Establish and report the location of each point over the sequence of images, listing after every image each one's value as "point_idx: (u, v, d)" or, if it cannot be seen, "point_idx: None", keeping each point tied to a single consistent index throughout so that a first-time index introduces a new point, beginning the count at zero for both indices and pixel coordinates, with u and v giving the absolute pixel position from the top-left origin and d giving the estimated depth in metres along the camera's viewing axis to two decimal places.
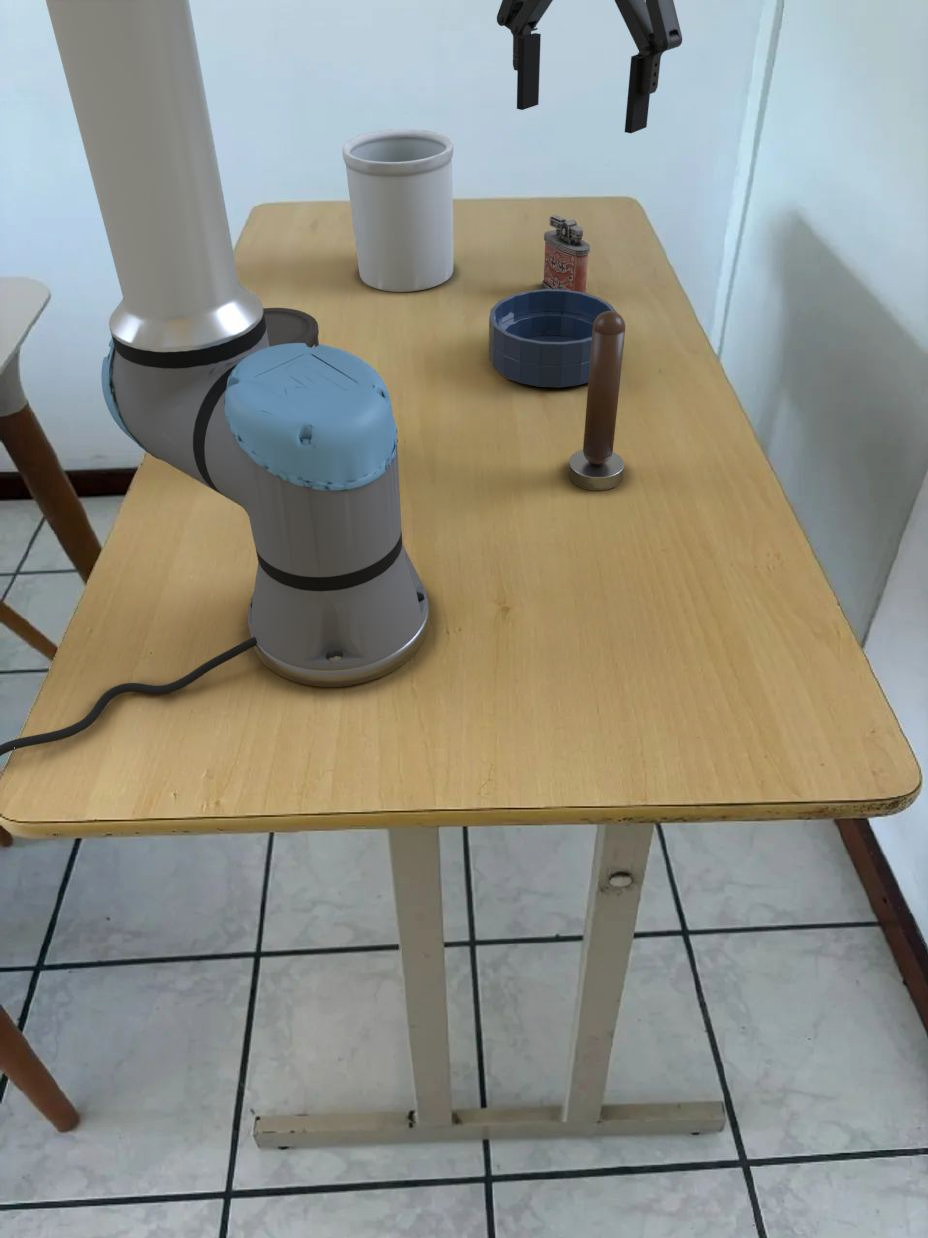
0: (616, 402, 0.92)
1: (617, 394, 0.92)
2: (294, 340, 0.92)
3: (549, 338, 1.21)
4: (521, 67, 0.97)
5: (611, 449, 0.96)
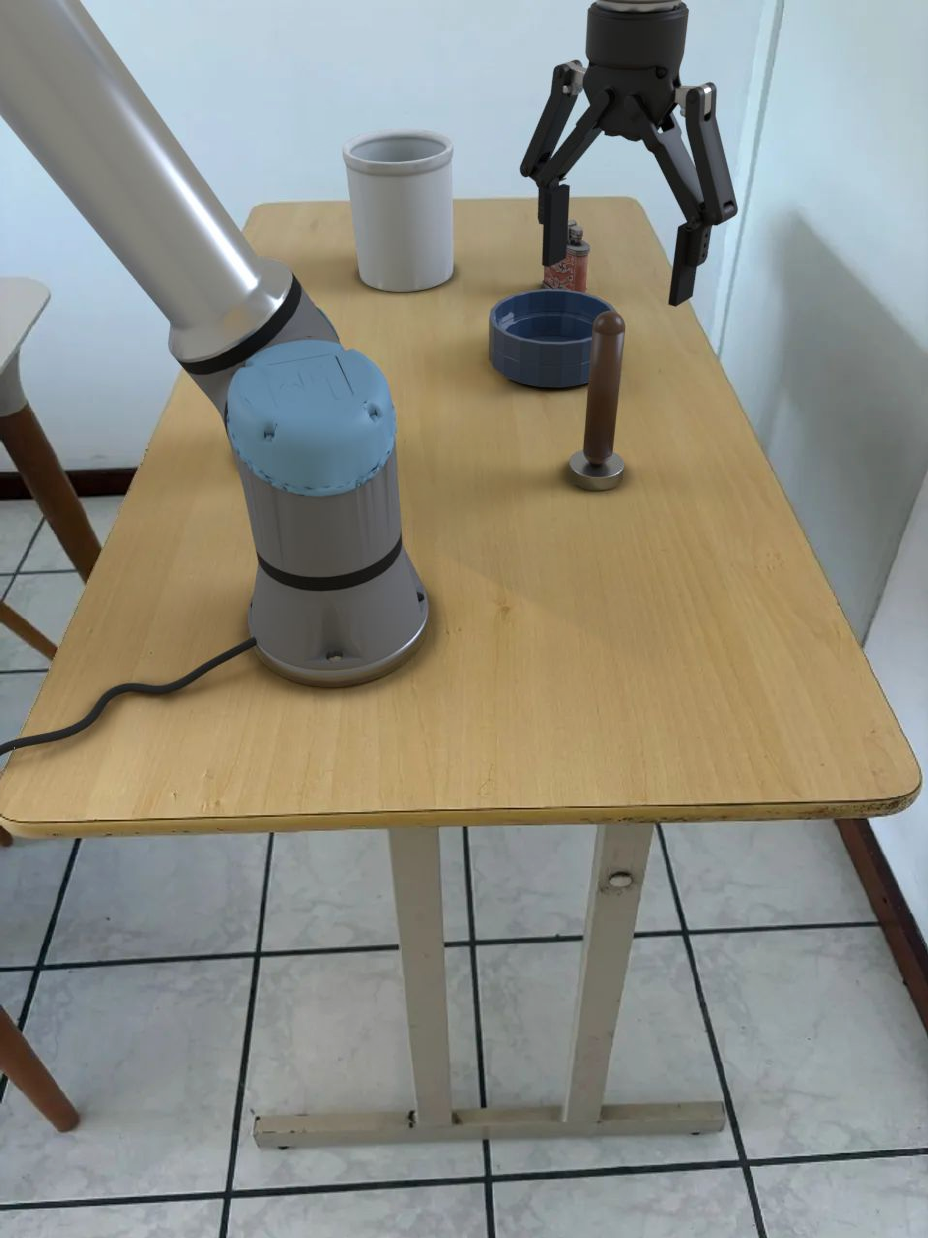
0: (616, 402, 0.92)
1: (617, 394, 0.92)
2: None
3: (549, 338, 1.21)
4: (548, 223, 0.85)
5: (611, 449, 0.96)
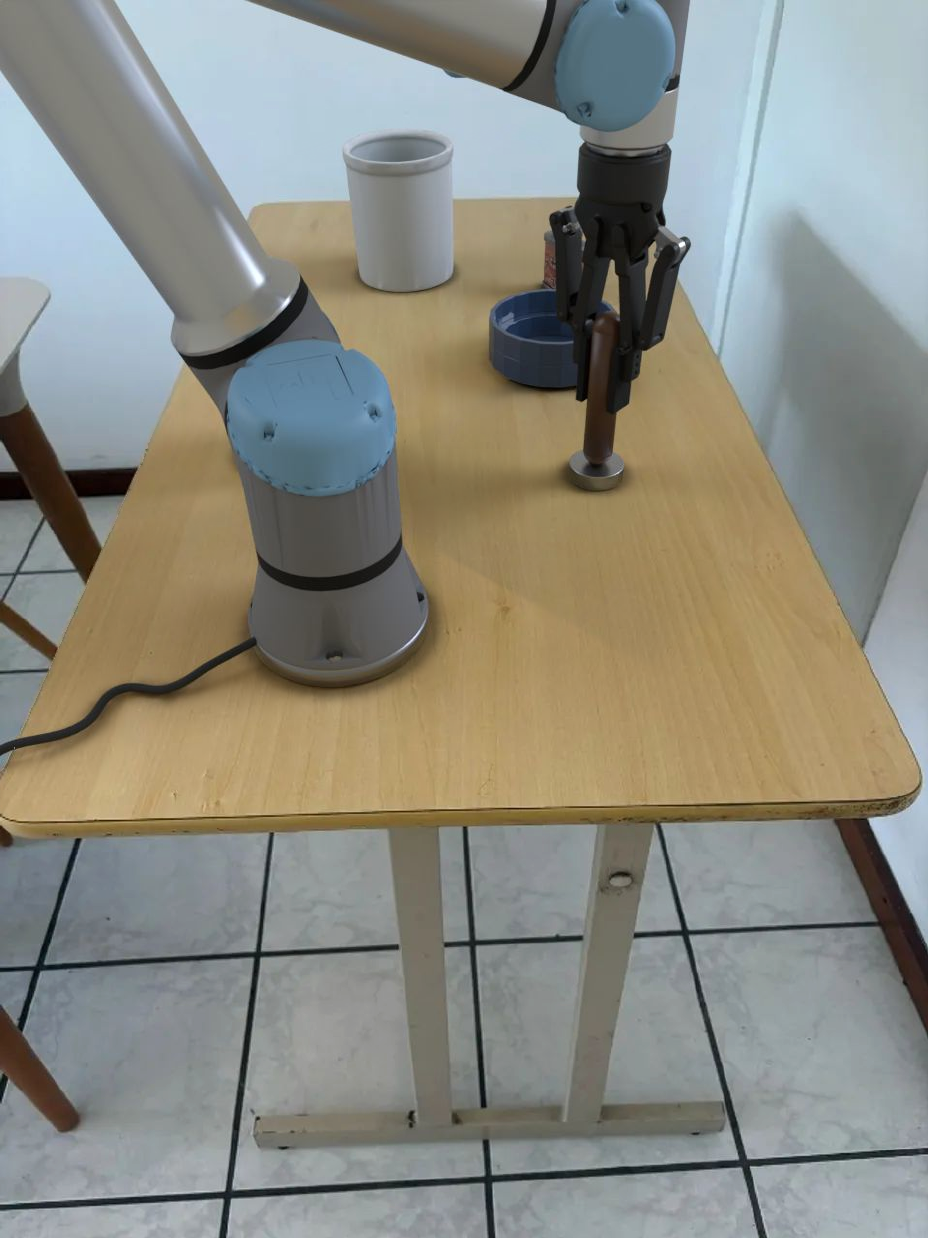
0: None
1: None
2: None
3: (549, 338, 1.21)
4: (582, 364, 0.91)
5: (611, 449, 0.96)
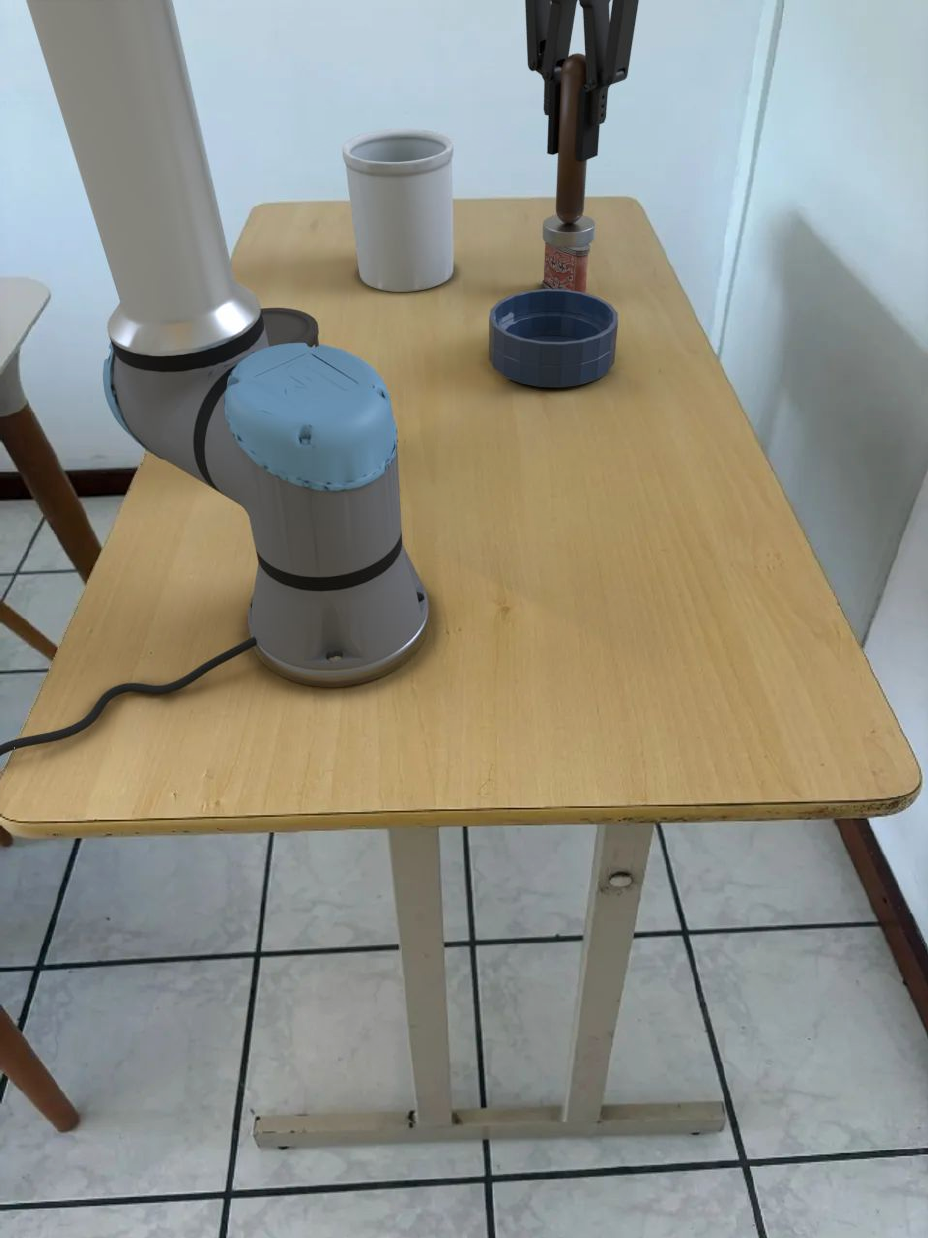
0: None
1: None
2: (294, 340, 0.92)
3: (549, 338, 1.21)
4: (552, 113, 0.96)
5: (582, 205, 1.01)
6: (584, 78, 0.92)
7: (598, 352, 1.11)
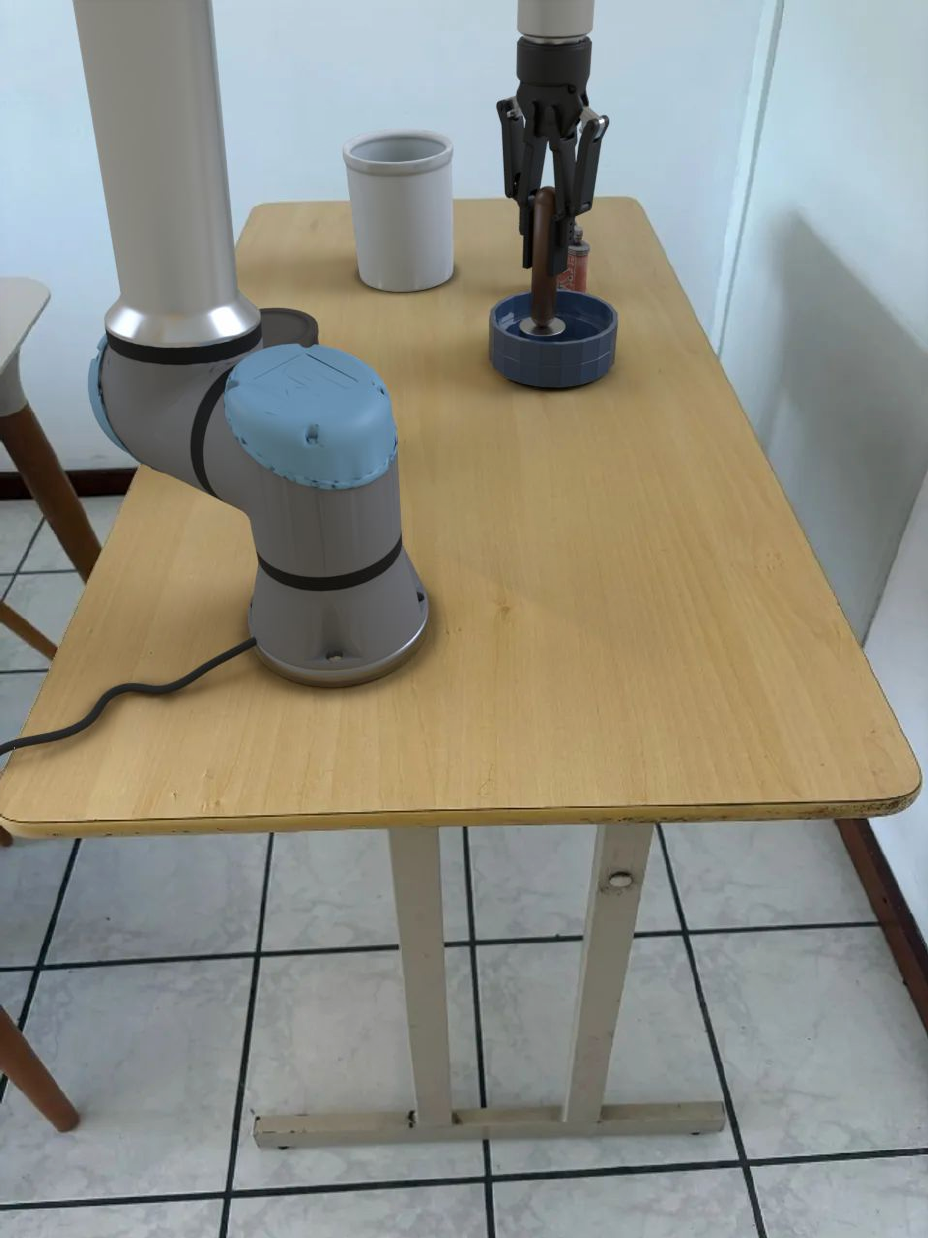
0: None
1: None
2: (294, 340, 0.92)
3: None
4: (526, 234, 1.08)
5: (553, 311, 1.14)
6: (554, 208, 1.05)
7: (598, 352, 1.11)
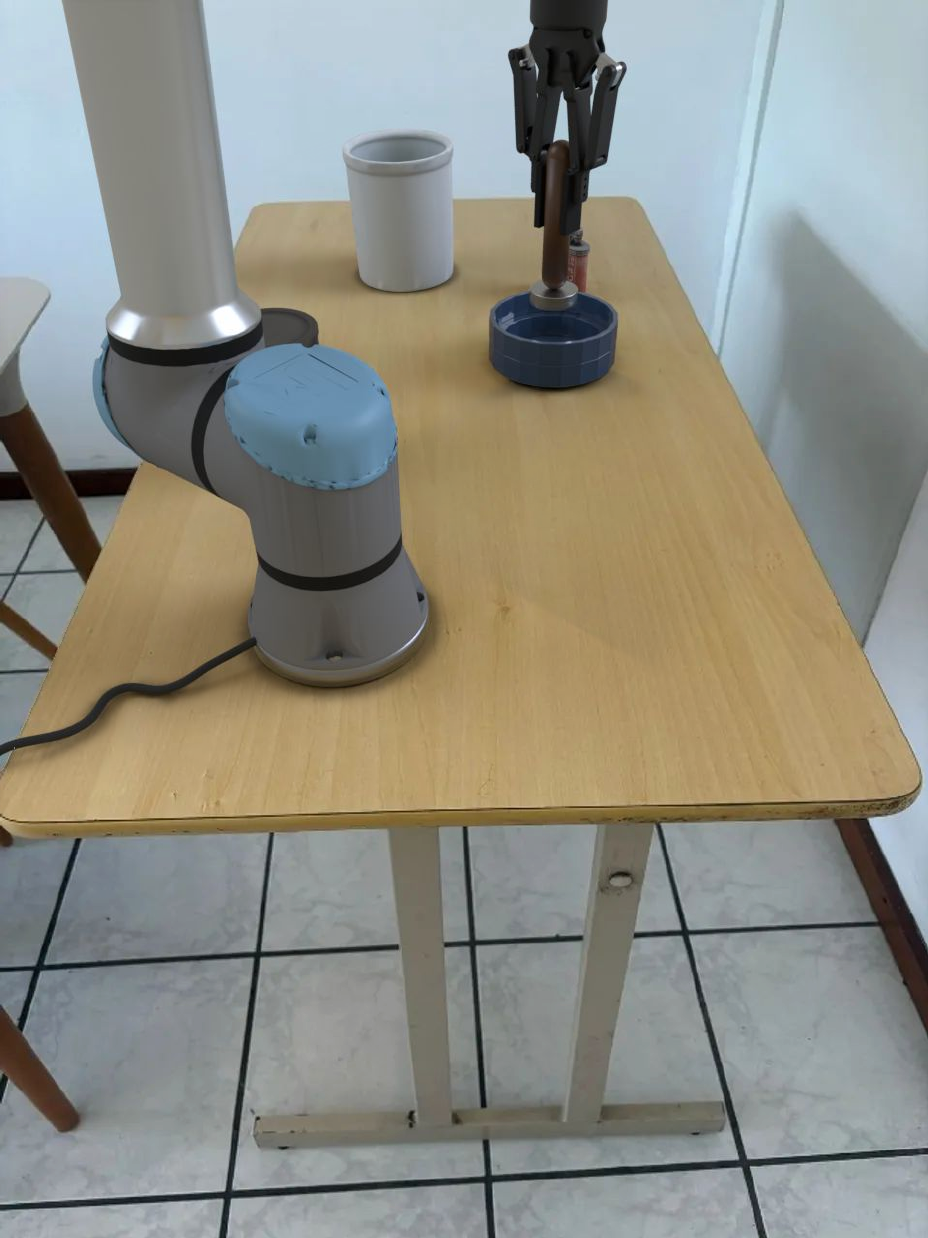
0: None
1: None
2: (294, 340, 0.92)
3: (549, 338, 1.21)
4: (538, 191, 1.04)
5: (566, 273, 1.10)
6: (568, 162, 1.01)
7: (598, 352, 1.11)
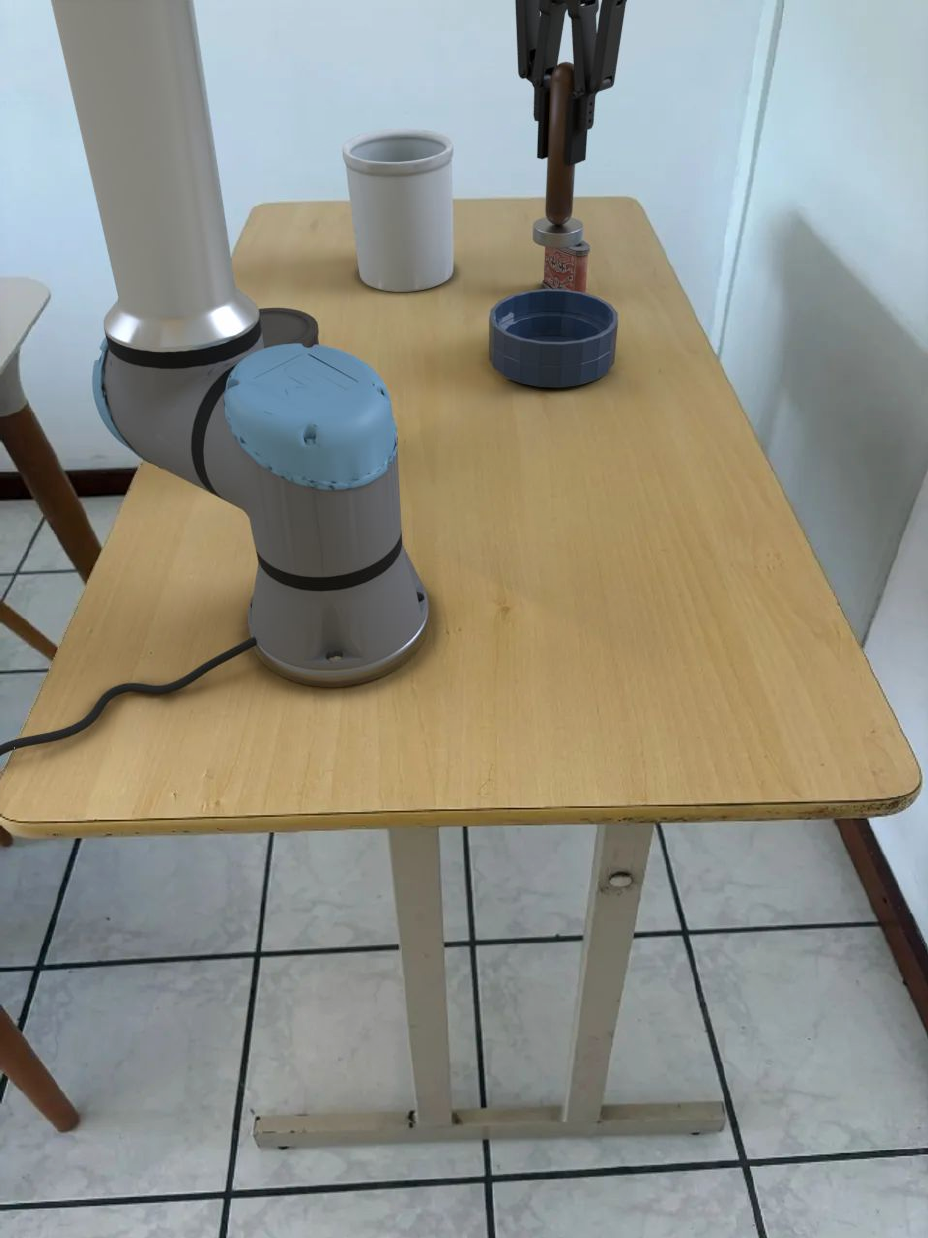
0: None
1: None
2: (294, 340, 0.92)
3: (549, 338, 1.21)
4: (542, 119, 1.00)
5: (570, 208, 1.05)
6: (572, 85, 0.96)
7: (598, 352, 1.11)
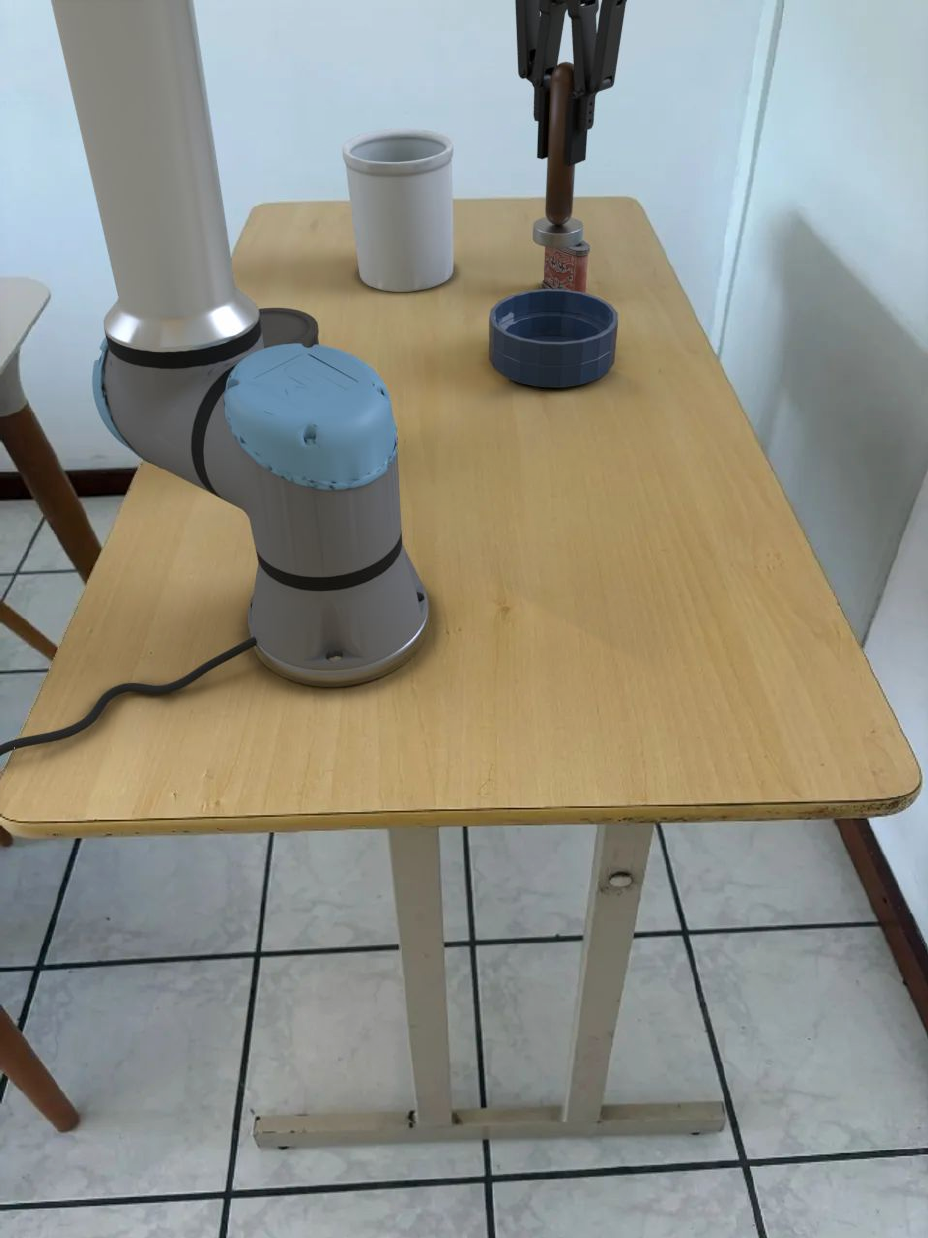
0: None
1: None
2: (294, 340, 0.92)
3: (549, 338, 1.21)
4: (542, 119, 1.00)
5: (570, 208, 1.05)
6: (572, 85, 0.96)
7: (598, 352, 1.11)
